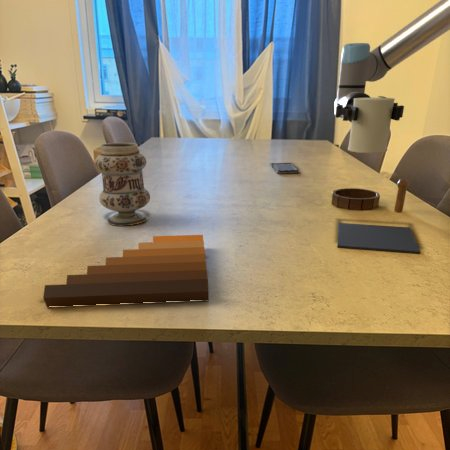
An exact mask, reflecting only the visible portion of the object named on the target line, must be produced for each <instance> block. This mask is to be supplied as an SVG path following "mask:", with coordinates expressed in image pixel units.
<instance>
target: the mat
mask: <svg viewBox="0 0 450 450" xmlns="http://www.w3.org/2000/svg"><path fill="white" fill-rule="evenodd" d="M337 231H338V232H337V245H336V246H337V248H338V249H350V250H361V251H363V250H364V251H376V252H387V253H388V252H390V253H401V254H402V253H403V254H416V255H419V254H421V250H420V248H419V245H418V243H417V241H416V238H415V236H414V234H413V231H412V229H411V227H409V226H396V225H395V226H394V225H380V224H365V223H364V224H363V223H362V224H361V223H349V222H338V228H337Z"/></svg>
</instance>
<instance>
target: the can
mask: <svg viewBox="0 0 450 450" xmlns="http://www.w3.org/2000/svg"><path fill="white" fill-rule="evenodd" d="M395 100H396V99H395V98H394V97H386V96H385V95H384V96H383V95H377V97H371V98H354V104H353V106H354V107H358V108H359V110H358V118H357V121H354V120H352V124H351V123H350V133H349V141H348V146H347V151H348V152H352V153H358V154H382V153H386V152H388V143H389V137H390V136H389V135H390V129H391V121H392V119H391V117H392V111H393V105H394V103H395Z"/></svg>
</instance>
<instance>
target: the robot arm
mask: <svg viewBox="0 0 450 450" xmlns="http://www.w3.org/2000/svg"><path fill="white" fill-rule="evenodd" d="M449 31H450V0H439V1H437V3H435V4H433V5H432V6H431V7H430V8H428V9H427V10H425V11H424V12H423V13H421V14H420V15H419V16H417V17H416V18H415V19H413V20H411V22H409V23H408V24H406V25H405V26H403V27H402V28H401V29H399V30H398V31H397V32H395V33H394V34H393V35H391V36H389V37H388V38H387V39H386V40H385V41H383V42H381V44H379V45H378V46H376V47H375V48H374V49H373V50H371V45H370V43H368V42H352V43H346V44H344V45H343V46H342V50H341V57H340V61H339V62H340V66H339V75H338V87H337V95H336V98H335V100H334V103H333V109H334V118H336V119H339V118H340V119H342V121H345V122H350V125H351V124H352V120H354V121H357V118H358V110H359V108H358V107H354V106H353V104H354V98H372V97H371V96H370V95H369V94H367V93H365V91H366V84H367V82H369V83H370V82H371V83H373V82H378V81H380V80H382V79H383V78H384V77H385V76H386V75H387V73H388V72H390V71H391V70H392V69H393V68H395V67H396V66H397V65H399V64H401V63H402V62H404V61H405V60H406V59H408V58H410V57H412V56H413V55H414V54H416V53H417V52H418V51H420V50H421V49H423V48H425V47H426V46H428V45H429V44H431V43H432V42H433V41H435V40H437V39H438V38H440V37H441V36H442V35H444V34H446V33H447V32H449ZM404 111H405V105H399V102H394V105H393V111H392V117H391V120H392V121H396V122H398V121H400V119H401V118H403V116H404Z"/></svg>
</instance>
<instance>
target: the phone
mask: <svg viewBox="0 0 450 450" xmlns="http://www.w3.org/2000/svg"><path fill="white" fill-rule="evenodd" d="M271 168H272V169H273V170H274V171H275V173H276V174H280V175H281V174H283V175H284V174H285V175H286V174H288V175H289V174H299V168H297V167H296V166H295V165H294V164H293V163H291V162H273V163H271Z"/></svg>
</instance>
